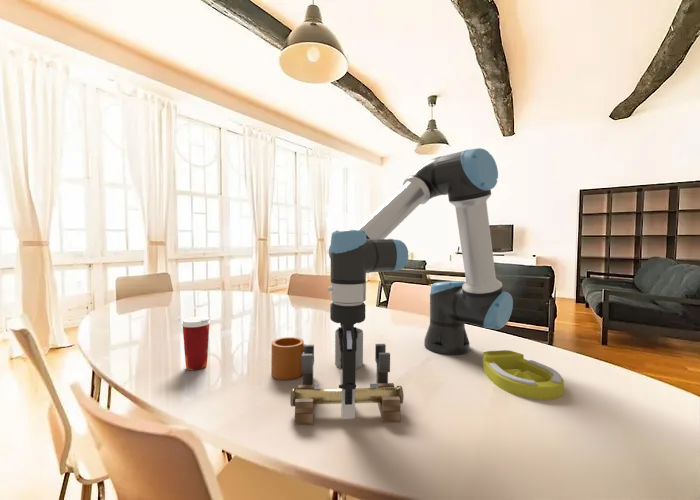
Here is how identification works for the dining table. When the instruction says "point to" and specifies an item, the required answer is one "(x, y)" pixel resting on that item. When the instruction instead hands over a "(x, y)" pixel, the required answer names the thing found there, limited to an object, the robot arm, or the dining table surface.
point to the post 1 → (308, 365)
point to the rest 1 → (304, 408)
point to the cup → (358, 353)
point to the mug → (287, 358)
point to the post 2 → (381, 364)
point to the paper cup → (196, 341)
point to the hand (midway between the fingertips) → (347, 407)
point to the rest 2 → (389, 406)
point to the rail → (336, 395)
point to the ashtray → (522, 375)
